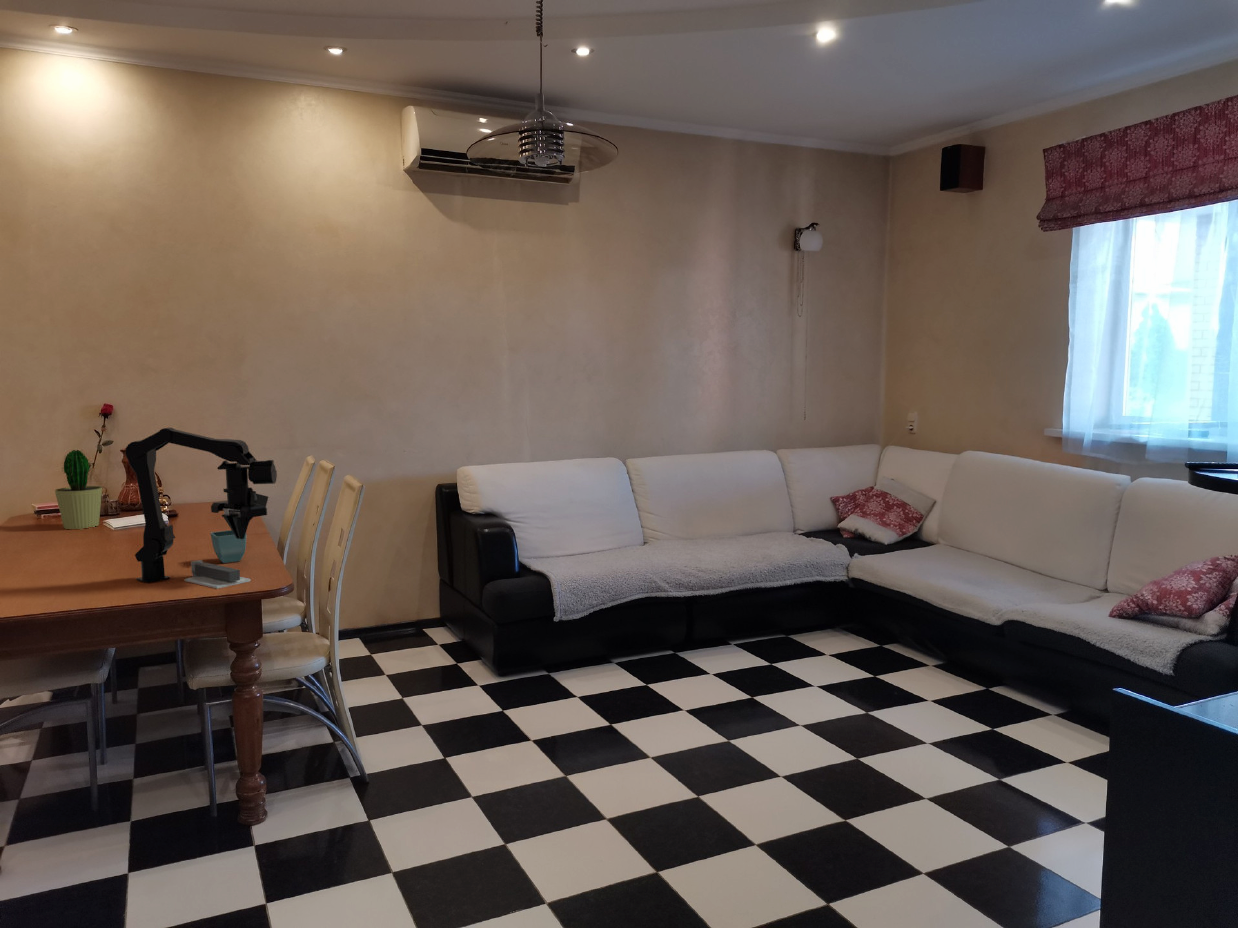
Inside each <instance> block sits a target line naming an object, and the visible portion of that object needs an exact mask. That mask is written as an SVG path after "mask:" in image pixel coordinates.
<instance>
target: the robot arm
mask: <svg viewBox="0 0 1238 928" xmlns="http://www.w3.org/2000/svg"><path fill="white" fill-rule="evenodd" d="M168 444H173V445H176V446H181V447H186V448H190V449H194V450H198V451H203V452H208V453H210V454H212V455H215V457H218V458H220V459H223V461H222V463H221V464H219V466H218V467H217V470H225V483H226V488H223V493H226V500H221V501H214V502H213V503H212V504H211V505H210V511H211V512H210V513H212V514H213V513H214V514H219V512H223V514H221V517H222V518H224V520H225V522H226V523H227V525H228V526H229V528H230V530H232V531H233V533H234V535H235V537H236V538H237V539H244V537H245V534H246V535H247V530H248V527H249V524H250V522H251V520H252V519H253V518H257V517H263V516H267V515H268V507H267V505H268V500H269V496H268V495H263V494H260V493H257V492H256V490H253V487H249V482H251V483H252V484H253V485H274V484H276V482H277V479H278V477H277V475H278V473H277V470H276V465H275V464H274V461H275V460H273V459H267V460H257V459H256V458H255V456H254V455H253V454H252V453H251V451H249V449H250V448H249V446H248V444H247V442H246V441H244V440H241V439H231V438H227V439H226V438H221V439H220V438H215V437H209V436H205V435H201V434H196V433H191V432H188V431H183V430H180V429H179V430H178V429H176V428H173V427H166V428H165V427H164V428H161V429H159V430H158V431H157V432H155V433H154V434H152V435H149V436H147V437H145V438H143V439H140V440H136V441H135V440H134V441H131V442H129V443H128V444H127V445H126V447H125V449H124V454H125V457H126V459H127V462H128V465H129V466H130V468H131V469H132V470H133V472H134V474H135V477H136V482H137V487H138V492H139V497H140V501H141V502H140V503H141V508H142V512H143V517H144V522H145V523H144V524H145V525H144V530H143V534H142V537H143V540H142V541H143V546H142V547H141V548H140V549H139V550H138V551H137V552H136V553H135V554H134V556H135V559H136V561H137V562H139V563H140V566H141V567H140V568H141V577H137V578H136V581H139V582H143V583H149V584H150V583H154V582H159V581H164V580H165V581H166V580H169V579H171V576H170V575H165V574H166V573H165V572H166V571H165V562H164V560H165V559H164V556H166V555H167V553H168V551H169V549H171V547H172V546H173V545H174V539H176V536H175V535H174V525H173V524H169V525H168V524H167V523H166V521H165V520H164V516H163V511H162V507H161V506H162V505H161V502H160V501H161V500H160V495H159V491H158V486H157V480H156V474H155V468H156V463H157V451H159V450H161V449H162V448H164V447H165V446H167V445H168Z"/></svg>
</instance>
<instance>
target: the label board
mask: <svg viewBox="0 0 1238 928" xmlns="http://www.w3.org/2000/svg"><path fill="white" fill-rule="evenodd" d="M191 575H192V577H191V576H190V577H187V578H184V582H187V583H193V584H196V585H199V586H200V585H201V586H204V587H209V588H214V589H217V590H218V589H222V588H227V587H230V586H236V585H240V584H244V583H248V582H251V578H247V577H244V576H243V577H242V576H240V580H237V581H232V582H228V581H224V580H219V579H215V578H210V577H206V576H201V575H197V574H193V573H191Z"/></svg>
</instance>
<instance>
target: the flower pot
mask: <svg viewBox="0 0 1238 928" xmlns="http://www.w3.org/2000/svg"><path fill="white" fill-rule="evenodd" d="M210 539H211V543H212V547H213V551H214V554H215V555H216V556H217V559H219V561H220V562H221V563H223V564H227V563H228V564H229V563H235V562H240V561H241V560H242V559H243V557H244V555H245V552H246V547H247V533H246V534H245V537H244V539H237V538H236V537H235V535H234V533H233V531H232V530H231V529H229V530H221V531H212V532H210Z"/></svg>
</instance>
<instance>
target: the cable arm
mask: <svg viewBox="0 0 1238 928" xmlns="http://www.w3.org/2000/svg"><path fill="white" fill-rule="evenodd" d="M190 568H191V570H190V571H191V574H197V575H201V576H206V577H210V578H215V579H219V580H224V581H228V582H232V581H237V580H240V577H241V575H240V569H236V568H233V567H228V566H222V565H218V564H214V563H208V562H203V560H199V559H198V560H192V561H191V562H190Z"/></svg>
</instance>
